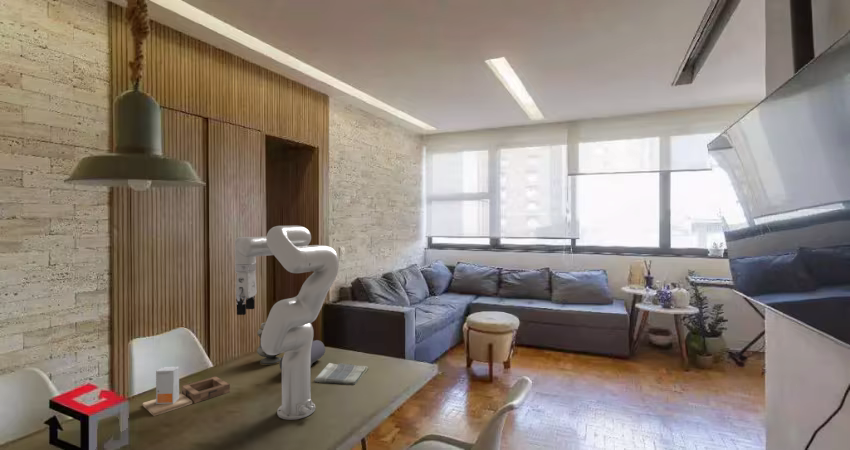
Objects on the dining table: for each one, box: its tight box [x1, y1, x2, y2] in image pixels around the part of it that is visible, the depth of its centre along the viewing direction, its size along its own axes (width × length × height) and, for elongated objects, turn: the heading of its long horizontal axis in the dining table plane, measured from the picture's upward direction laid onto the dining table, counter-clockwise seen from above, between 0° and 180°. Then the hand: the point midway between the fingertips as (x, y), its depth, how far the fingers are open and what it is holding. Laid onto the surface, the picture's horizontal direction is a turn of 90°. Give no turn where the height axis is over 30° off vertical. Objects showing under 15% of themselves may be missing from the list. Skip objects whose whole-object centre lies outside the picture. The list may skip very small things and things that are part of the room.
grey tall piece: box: [256, 322, 282, 366], centre depth 190 cm, size 12×12×18 cm
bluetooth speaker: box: [279, 339, 326, 372], centre depth 181 cm, size 23×9×10 cm, turn 162°
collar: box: [181, 376, 231, 404], centre depth 155 cm, size 13×13×3 cm
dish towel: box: [314, 362, 369, 386], centre depth 173 cm, size 19×18×3 cm
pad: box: [142, 391, 193, 417], centre depth 146 cm, size 12×12×1 cm
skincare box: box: [155, 366, 180, 404], centre depth 145 cm, size 6×4×12 cm
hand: (245, 311), depth 159 cm, fingers open, 9 cm apart
